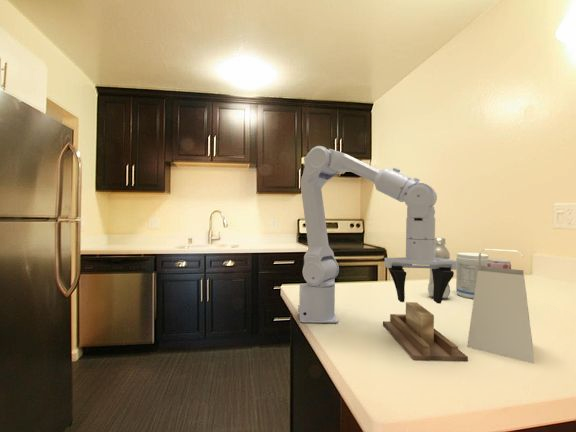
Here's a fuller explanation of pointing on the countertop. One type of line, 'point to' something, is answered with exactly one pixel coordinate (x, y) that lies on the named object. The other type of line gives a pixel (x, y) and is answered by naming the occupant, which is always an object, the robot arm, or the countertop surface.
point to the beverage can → (499, 263)
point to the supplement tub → (468, 272)
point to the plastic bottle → (440, 253)
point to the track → (422, 342)
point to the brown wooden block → (420, 321)
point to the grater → (501, 313)
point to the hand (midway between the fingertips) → (419, 301)
